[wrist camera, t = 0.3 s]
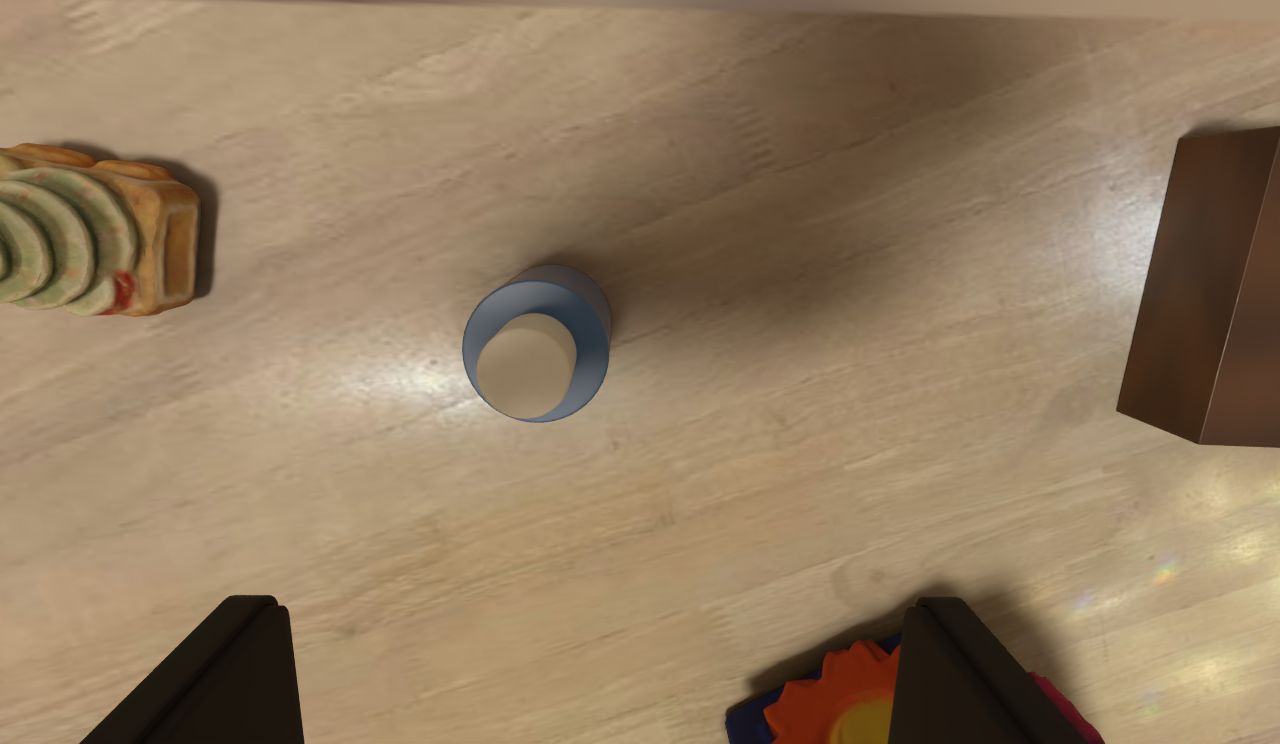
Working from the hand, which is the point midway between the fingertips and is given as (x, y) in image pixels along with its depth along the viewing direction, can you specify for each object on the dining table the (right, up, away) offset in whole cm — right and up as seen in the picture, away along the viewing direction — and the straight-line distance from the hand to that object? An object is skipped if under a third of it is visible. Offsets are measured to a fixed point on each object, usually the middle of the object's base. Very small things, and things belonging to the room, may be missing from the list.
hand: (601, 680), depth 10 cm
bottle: (-3, +7, +19) cm, 20 cm away
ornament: (-21, +11, +18) cm, 29 cm away
